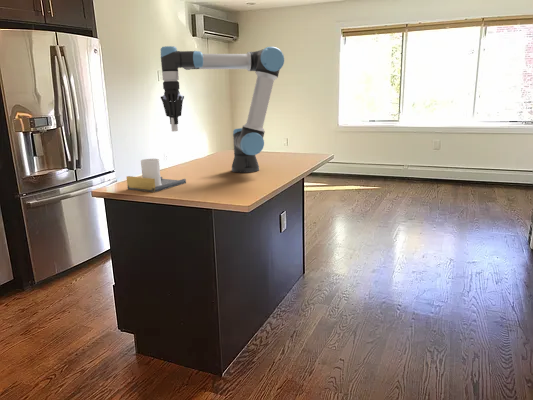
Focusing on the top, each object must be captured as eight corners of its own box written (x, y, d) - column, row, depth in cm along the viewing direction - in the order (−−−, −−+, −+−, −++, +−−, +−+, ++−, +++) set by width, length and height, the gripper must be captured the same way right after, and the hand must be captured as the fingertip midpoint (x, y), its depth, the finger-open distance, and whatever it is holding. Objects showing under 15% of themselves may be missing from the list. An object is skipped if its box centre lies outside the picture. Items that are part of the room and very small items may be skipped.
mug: (144, 183, 206) (142, 158, 203) (162, 181, 208) (160, 157, 205) (141, 188, 195) (139, 161, 192) (161, 186, 196) (158, 160, 194)
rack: (186, 182, 209) (185, 170, 207) (153, 192, 190) (152, 179, 189) (161, 180, 217) (160, 168, 215) (127, 189, 198) (126, 176, 197)
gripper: (186, 80, 204) (190, 130, 210) (165, 81, 211) (169, 130, 216) (176, 80, 198) (180, 132, 204) (155, 81, 204) (159, 131, 210)
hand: (174, 131), depth 210 cm, fingers closed
